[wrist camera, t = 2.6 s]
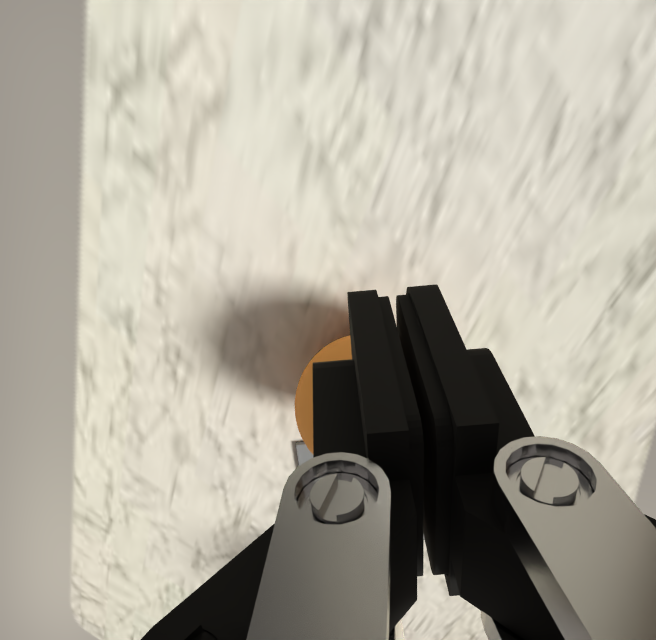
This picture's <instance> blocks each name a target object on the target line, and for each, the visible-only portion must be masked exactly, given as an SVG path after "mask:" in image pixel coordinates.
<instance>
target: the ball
mask: <svg viewBox="0 0 656 640" xmlns="http://www.w3.org/2000/svg"><path fill="white" fill-rule="evenodd" d="M349 359H352V352H351V338H350V335H349V336H345V337H343V338H340V339H337V340H335V341H333V342H332V343H330V344H328V345H327V346H325V347H324V348H323V349H322V350H320V351H319V352H318V353H317V354H316V355H315V356H314V357H313V358H312V359H311V361H310V362H309V363H308V365H307V367H306V368H305V370H304V371H303V373H302V375H301V378H300V380H299V383H298V387H297V390H296V397H295V416H296V421H297V426H298V429H299V432H300V434H301V437H302V439H303V441H304V443H305V444H306V446H307V448H308V449H309V450H310V452H311V453H312V454H313V373H312V366H313V362H325V361H337V360H349Z"/></svg>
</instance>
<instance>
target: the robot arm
mask: <svg viewBox="0 0 656 640" xmlns="http://www.w3.org/2000/svg"><path fill="white" fill-rule="evenodd" d="M348 309H349V323H350V338H351V352H352V359H349V360H337V361H325V362H313V366H312V373H313V458H311V459H309V460H308V461H306V462H305V463H303V464H301V465H300V466H298V467H297V468H296V469H295V471H294V472H293V473H292V474H291V475H290V476H289V478H288V480H287V482H286V484H285V486H284V489H283V493H282V497H281V501H280V505H279V509H278V513H277V517H276V521H275V524H274V525H272V526H271V527H270V528H269V529H268V530H266V531H265V532H264V533H263V534H262V535H261V536H259V537H258V538H257V539H256V540H255V541H253V542H252V543H251V544H250V545H249V546H248V547H246V548H245V549H244V550H243V551H242V552H240V553H239V554H238V555H237V556H236V557H235V558H233V559H232V560H231V561H230V562H229V563H227V564H226V565H225V566H224V567H223V568H222V569H220V570H219V571H218V572H217V573H216V574H214V575H213V576H212V577H211V578H210V579H209V580H207V581H206V582H205V583H204V584H203V585H201V586H200V587H199V588H198V589H197V590H196V591H194V592H193V593H192V594H191V595H190V596H189V597H187V598H186V599H185V600H184V601H183V602H181V603H180V604H179V605H178V606H177V607H176V608H174V609H173V610H172V611H171V612H170V613H168V614H167V615H166V616H165V617H164V618H163V619H161V620H160V621H159V622H158V623H157V624H155V625H154V626H153V627H152V628H151V629H150V630H149V631H148V632H147V633H146V635H145V636H144V637H143V638H142V639H141V640H396V624H397V623H398V622H399V621H400V620H401V618H402V617H403V616H404V615H405V614H406V612H407V611H408V610H409V609H410V608H411V606H412V605H413V604H414V603H415V602H416V600H417V576H423V533H424V538H425V543H426V547H427V552H428V557H429V561H430V566H431V570H432V573H433V575H440V574H445V579H446V583H447V587H448V591H449V596H456V595H460V597H462V598H463V599H465V600H466V601H468V602H469V603H471V604H472V605H474V606H475V607H477V608H478V609H480V610H481V619H482V623H483V627H484V630H485V633H486V635H487V637H488V639H489V640H656V520H655V519H653V518H651V517H649V516H647V515H645V514H643V513H642V512H641V510H640V509H639V508H638V507H637V506H636V504H635V503H634V502H633V501H632V500H631V499H630V497H629V496H628V495H627V494H626V493H625V491H624V490H623V489H622V488H621V487H620V486H619V484H618V483H617V482H616V481H615V480H614V479H613V477H612V476H611V475H610V474H609V473H608V472H607V470H606V469H605V468H604V467H603V466H602V464H601V463H600V462H599V461H597V460H596V459H595V458H594V457H593V456H592V455H591V454H590V453H589V452H587V451H585V450H583V449H582V448H580V447H578V446H576V445H574V444H572V443H569V442H566V441H563V440H560V439H557V438H549V437H542V436H537V437H535V436H534V434H533V432H532V430H531V428H530V426H529V424H528V422H527V420H526V418H525V416H524V414H523V413H522V411H521V409H520V407H519V405H518V403H517V401H516V399H515V397H514V395H513V393H512V391H511V389H510V387H509V385H508V383H507V381H506V379H505V378H504V376H503V374H502V372H501V370H500V368H499V366H498V364H497V362H496V360H495V358H494V356H493V354H492V353H491V351H490V350H489V349H487V348H481V349H469V350H466V347H465V345H464V343H463V341H462V338H461V336H460V334H459V332H458V329H457V327H456V325H455V323H454V321H453V318H452V316H451V314H450V312H449V309H448V307H447V305H446V303H445V300H444V298H443V296H442V294H441V291H440V289H439V287H438V285H427V286H415V287H407V292H406V295H398V296H397V297H396V314H397V327H396V323H395V319H394V316H393V312H392V308H391V304H390V301H389V297H388V296H386V297H378V295H377V291H376V290H368V291H356V292H348Z"/></svg>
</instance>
